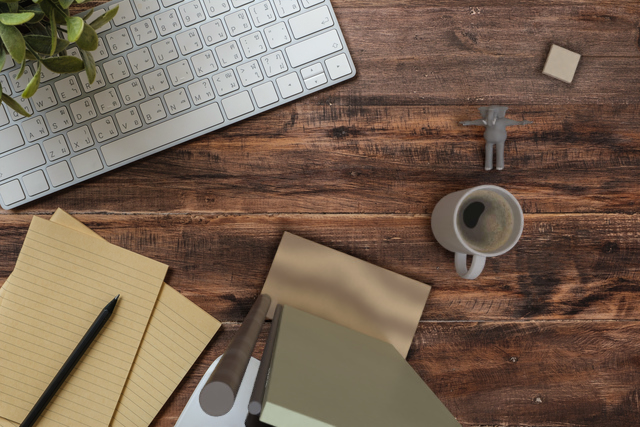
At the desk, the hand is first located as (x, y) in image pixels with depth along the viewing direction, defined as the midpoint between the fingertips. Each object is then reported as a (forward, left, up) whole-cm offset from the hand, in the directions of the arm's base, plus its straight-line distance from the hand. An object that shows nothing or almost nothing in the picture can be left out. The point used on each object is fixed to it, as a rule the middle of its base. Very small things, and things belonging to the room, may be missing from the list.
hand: (344, 368), depth 58 cm
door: (+2, +2, -7) cm, 8 cm away
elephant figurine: (+36, -10, -9) cm, 38 cm away
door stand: (+7, +2, -9) cm, 11 cm away
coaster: (+50, -16, -9) cm, 53 cm away
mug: (+22, -10, -9) cm, 26 cm away
